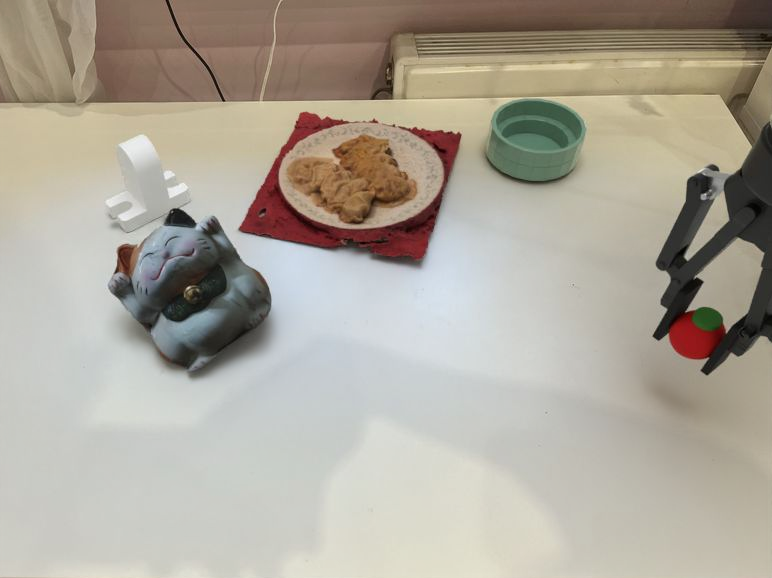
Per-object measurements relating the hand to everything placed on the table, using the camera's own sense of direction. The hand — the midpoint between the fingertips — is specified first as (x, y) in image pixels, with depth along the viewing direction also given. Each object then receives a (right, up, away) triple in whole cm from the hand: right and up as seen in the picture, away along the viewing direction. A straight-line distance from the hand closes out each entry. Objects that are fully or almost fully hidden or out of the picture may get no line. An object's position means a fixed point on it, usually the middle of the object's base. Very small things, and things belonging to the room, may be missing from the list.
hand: (687, 348), depth 65 cm
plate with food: (-30, +22, +28) cm, 46 cm away
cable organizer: (-57, +19, +26) cm, 65 cm away
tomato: (0, 0, 0) cm, 0 cm away
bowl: (-5, +27, +30) cm, 40 cm away
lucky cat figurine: (-48, +3, +14) cm, 50 cm away
